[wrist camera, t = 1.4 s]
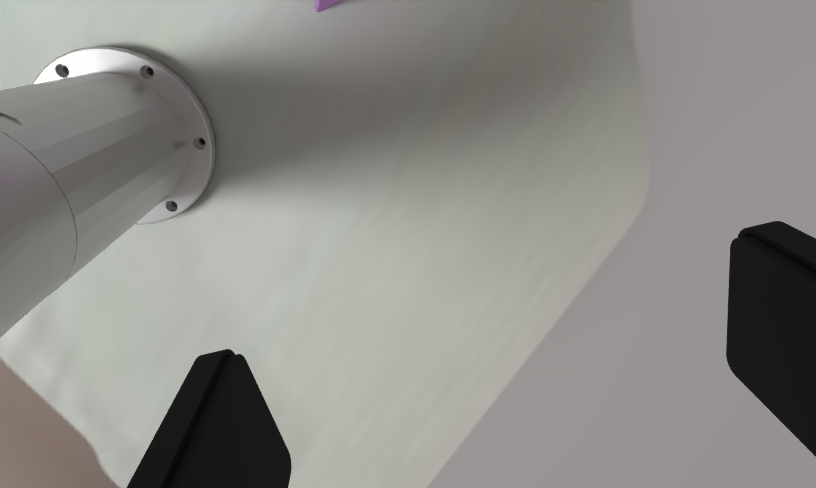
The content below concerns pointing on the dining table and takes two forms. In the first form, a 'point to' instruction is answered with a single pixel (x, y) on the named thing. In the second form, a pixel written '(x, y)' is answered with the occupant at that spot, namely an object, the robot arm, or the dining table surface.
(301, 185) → the dining table surface
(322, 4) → the toy chair
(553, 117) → the dining table surface
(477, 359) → the dining table surface
